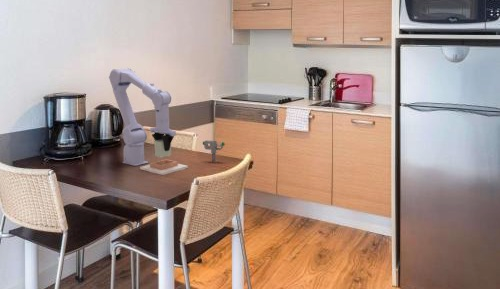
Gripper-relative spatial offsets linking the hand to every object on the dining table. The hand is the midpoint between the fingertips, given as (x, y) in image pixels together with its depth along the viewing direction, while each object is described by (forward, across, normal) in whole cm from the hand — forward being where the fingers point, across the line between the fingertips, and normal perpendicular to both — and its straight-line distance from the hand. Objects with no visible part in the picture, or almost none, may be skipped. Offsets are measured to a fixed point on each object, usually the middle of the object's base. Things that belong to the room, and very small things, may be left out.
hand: (163, 150), depth 201 cm
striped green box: (+2, 0, 0) cm, 3 cm away
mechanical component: (+9, +9, +23) cm, 26 cm away
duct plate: (+9, 0, 0) cm, 9 cm away
